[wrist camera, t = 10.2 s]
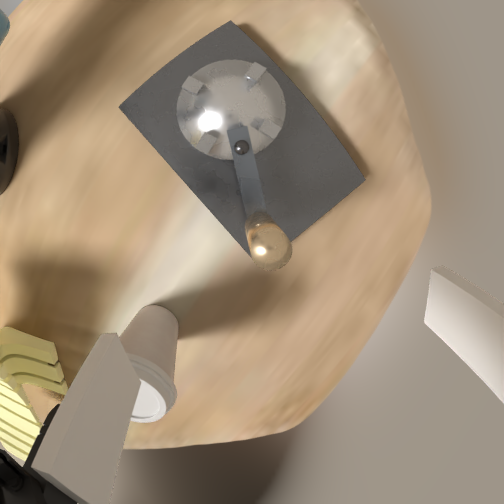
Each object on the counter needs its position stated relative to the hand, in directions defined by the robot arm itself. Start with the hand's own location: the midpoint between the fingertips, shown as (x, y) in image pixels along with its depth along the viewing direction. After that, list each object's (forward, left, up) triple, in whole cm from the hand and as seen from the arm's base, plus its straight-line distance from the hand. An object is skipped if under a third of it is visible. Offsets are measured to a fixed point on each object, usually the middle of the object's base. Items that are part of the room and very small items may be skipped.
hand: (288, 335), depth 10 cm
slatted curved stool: (-8, -50, -25) cm, 56 cm away
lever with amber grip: (-7, +4, -23) cm, 24 cm away
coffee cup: (+3, -20, -25) cm, 32 cm away
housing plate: (-8, +6, -25) cm, 27 cm away
